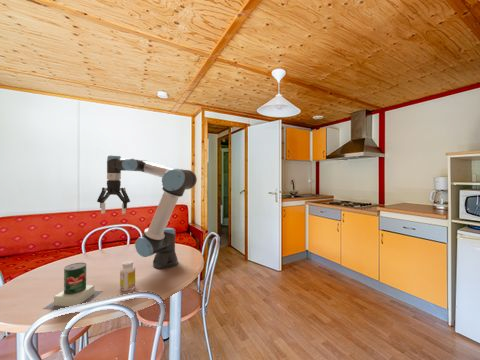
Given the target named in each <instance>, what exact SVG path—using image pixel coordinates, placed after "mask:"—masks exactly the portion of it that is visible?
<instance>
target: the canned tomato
mask: <svg viewBox="0 0 480 360" xmlns="http://www.w3.org/2000/svg"><path fill="white" fill-rule="evenodd" d="M86 285H87V263H86V262H75V263H70V264H68V265H65V266H64V268H63V291H64V294H65V295H74V294H77V293H80V292H82V291H84V290H85V289H86Z"/></svg>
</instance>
